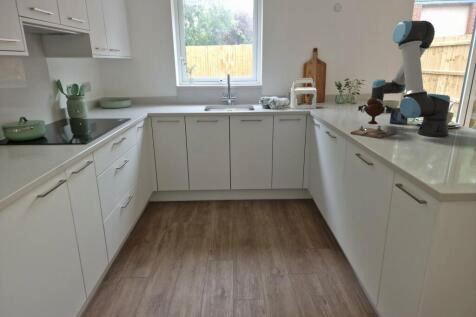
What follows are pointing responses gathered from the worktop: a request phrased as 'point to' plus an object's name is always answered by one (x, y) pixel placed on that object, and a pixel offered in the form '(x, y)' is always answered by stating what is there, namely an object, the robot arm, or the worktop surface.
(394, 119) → the small box
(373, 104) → the ice cream bowl
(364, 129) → the stub board
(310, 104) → the white lantern
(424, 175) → the worktop surface
